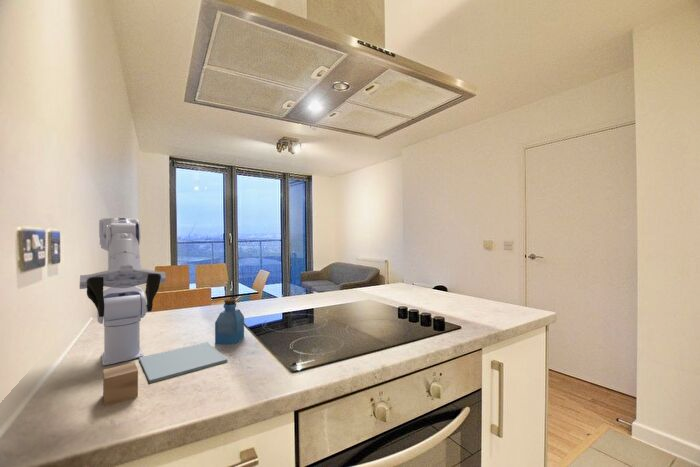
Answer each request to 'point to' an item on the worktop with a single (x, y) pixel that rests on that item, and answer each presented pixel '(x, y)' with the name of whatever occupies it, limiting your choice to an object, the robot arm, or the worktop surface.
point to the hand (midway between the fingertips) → (126, 310)
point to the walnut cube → (120, 383)
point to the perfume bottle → (229, 324)
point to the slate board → (180, 361)
